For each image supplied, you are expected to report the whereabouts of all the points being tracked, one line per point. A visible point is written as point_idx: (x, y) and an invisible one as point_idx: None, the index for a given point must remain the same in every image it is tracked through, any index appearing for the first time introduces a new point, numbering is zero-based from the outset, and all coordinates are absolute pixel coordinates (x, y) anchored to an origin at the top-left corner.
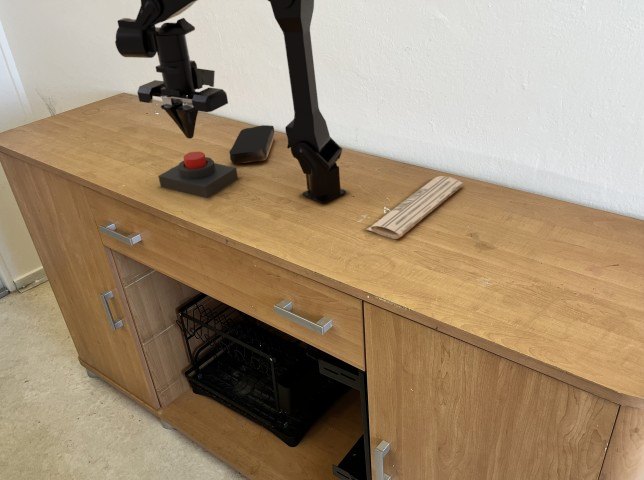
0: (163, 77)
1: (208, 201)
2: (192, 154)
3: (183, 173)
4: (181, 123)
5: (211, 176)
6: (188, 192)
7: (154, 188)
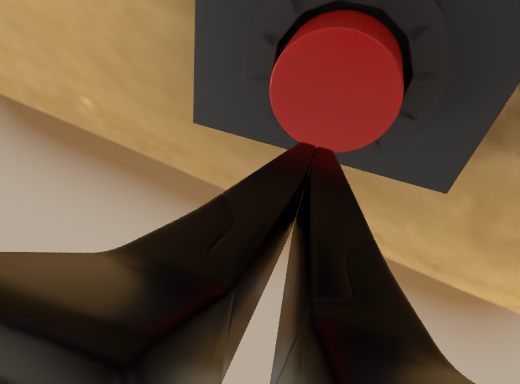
0: None
1: None
2: (314, 83)
3: None
4: (259, 296)
5: (445, 101)
6: None
7: (193, 107)
